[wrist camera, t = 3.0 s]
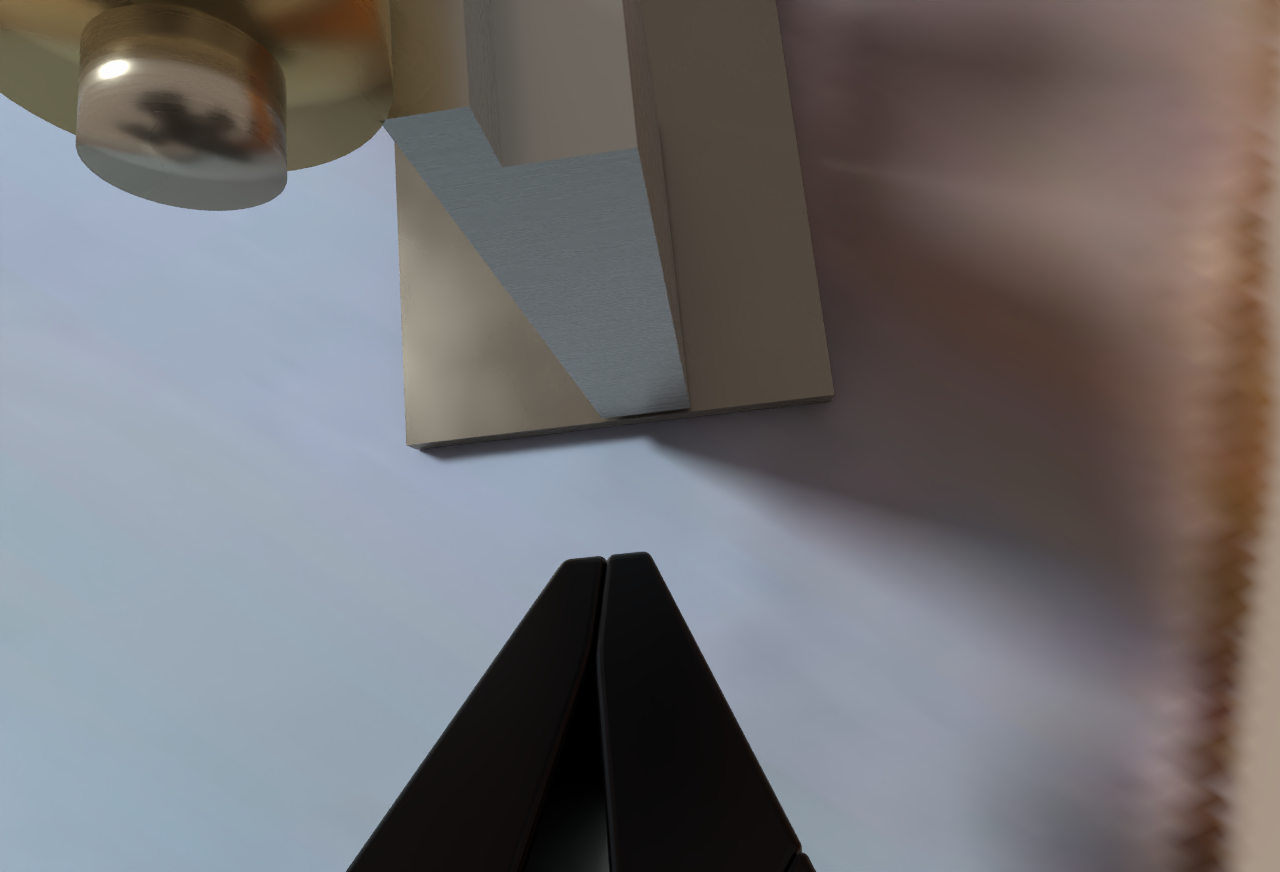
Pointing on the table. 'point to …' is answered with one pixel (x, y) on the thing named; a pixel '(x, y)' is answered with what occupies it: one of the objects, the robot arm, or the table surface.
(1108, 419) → the table surface
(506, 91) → the brass-capped grey pillar
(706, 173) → the hinge base
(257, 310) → the table surface
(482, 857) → the robot arm
